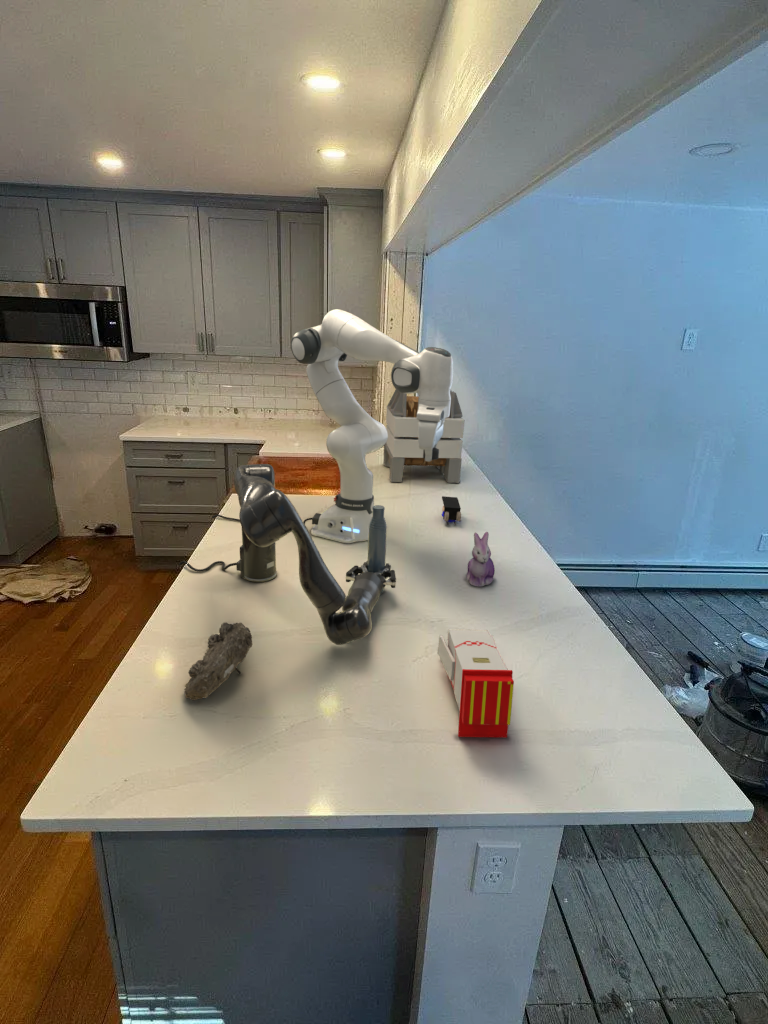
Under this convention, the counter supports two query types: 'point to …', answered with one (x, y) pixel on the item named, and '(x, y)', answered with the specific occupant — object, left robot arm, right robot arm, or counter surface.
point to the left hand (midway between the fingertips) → (377, 565)
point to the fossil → (218, 660)
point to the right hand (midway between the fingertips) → (430, 458)
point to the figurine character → (451, 509)
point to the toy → (478, 682)
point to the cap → (433, 454)
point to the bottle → (377, 541)
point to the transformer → (405, 438)
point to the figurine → (480, 562)
